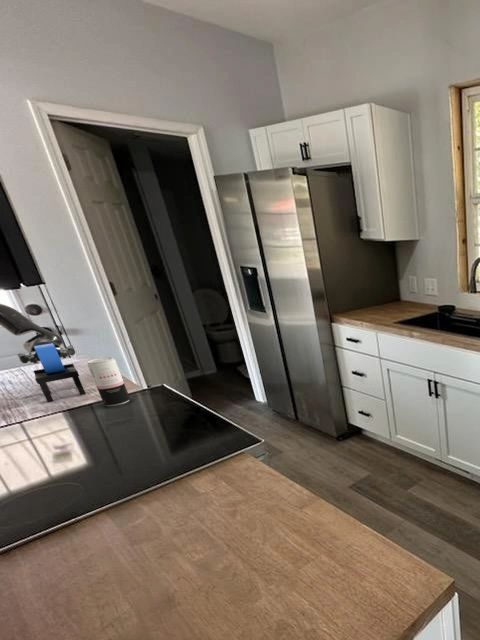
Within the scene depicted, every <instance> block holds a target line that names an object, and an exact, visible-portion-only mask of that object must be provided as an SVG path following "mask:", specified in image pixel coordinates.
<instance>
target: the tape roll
mask: <svg viewBox="0 0 480 640" xmlns="http://www.w3.org/2000/svg"><path fill="white" fill-rule="evenodd" d="M34 348H35V350H36V353H37V355H38V357H39V359H40V361H39V362H40V364H41V366H42V369H44V370H45V372H46V374H50V373H55V372H61V371H65V369H64V366H63V365H64V364H63V362H62V358H60V357H59V355H58V352H57V350H56V348H55V346H54V344H53V343H51V344H44V345H38V346H34Z"/></svg>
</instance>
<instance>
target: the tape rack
mask: <svg viewBox="0 0 480 640" xmlns="http://www.w3.org/2000/svg"><path fill="white" fill-rule="evenodd" d="M63 366H64V369H65V371H61V372H55V373H50V374H46V372H45V370H44V368H41V369H34V370H33V373H34V378H35V381H36V384H37V385H39V387H40V389H41V391H42V393H43V395H44V397H45V400H46V402H47V403H51V402H54V398H53V396H52V392H51V389H50V388H49V385H48V383H51V382H57V381H61V380H66V379H71V378H72V380H73V384H74V385H75V388H77V391H78V393H79V395H80V396H83V395H86V394H87V393H86V391H85V389H84V386H83V384H82V382H81V379H80V374H79V372H78V370H77V368H76V367H75V364H74V363H68V364H63Z"/></svg>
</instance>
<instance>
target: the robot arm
mask: <svg viewBox="0 0 480 640" xmlns="http://www.w3.org/2000/svg"><path fill="white" fill-rule="evenodd" d="M0 326H1V327H2V328H4V329H5V330H7V331H8V332H9V333H11V334H12V335H14V336H17V337H21V336H24V335H26V334H30V333H37V334H36V335H34V336H32V337H31V338H29V339H27V340H25V341H24V342H23V344H22V346H23V349H24V350H25V351H26V352H28V354H25V353H21V352H20V353H18V354H16V355H17V358H18V359H19V361H20V363H22V364H28V363H29V362H30V363H31V364H32V363H33V364H38V362H40V359H39V357H38V355H37V353H36V350H35V348H34V346H38V345H44V344H51V343H53V344H54V346H55V348H56V350H57V352H58V355H59V357H60V359H66V358H67V357H69V355H70V356H74V355H76V350H75V348H74V346H73V345H68V346H65V348H63V347H61V346H62V345H63V343H64V340H63V338H62V337H61V336H60V335H59V334H57V333H55V332H53V331H51V330H49V329H46V328H44V327H42V326H40V325H38V324H37V323H35V322H33V321H31V320H30V319H29V318H27V317H26V316H25V315H24V314H23V313H21V312H20V311H18V310H16V309H15V308H13V307H11V306H9V305H6V304H2V303H0Z"/></svg>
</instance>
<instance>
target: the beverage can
mask: <svg viewBox="0 0 480 640" xmlns="http://www.w3.org/2000/svg"><path fill="white" fill-rule="evenodd" d="M87 367H88V370H89V373H90V374H91V377H92V379H93V382H94V384H95V386H96V389H97V392H98V394H99V395H100V396H99V397H100V398H101V400H102V401H101V402H102V403H103V405H104V406H106V407H115V406H119V405H123V404H126V403H128V402H130V400H131V396H130V394H129V392H128V389H127V387H126V385H125V381H124V379H123V377H122V374H121V372H120V368H119V366H118V364H117V361H116V359H115V358H114V357H113V356H107V357H99V358H94V359H91V360H87ZM129 399H130V400H129Z"/></svg>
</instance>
